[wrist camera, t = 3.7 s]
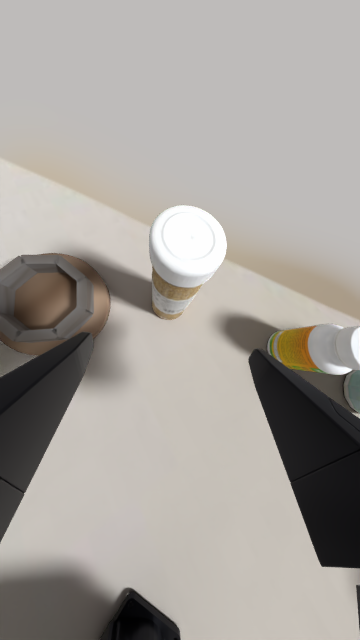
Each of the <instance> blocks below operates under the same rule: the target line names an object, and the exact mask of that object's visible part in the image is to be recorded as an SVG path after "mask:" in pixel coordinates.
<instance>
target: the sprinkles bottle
mask: <svg viewBox="0 0 360 640" xmlns="http://www.w3.org/2000/svg"><path fill="white" fill-rule="evenodd" d="M226 246H227V245H226V238H225V233H224V231H223V229H222V227H221V226H220V224H219V223H218V222H217V221H216V220H215V218H214V217H213V216H211V215H210V214H209V213H207V212H206V211H204V210H202V209H199V208H197V207H193V206H185V205H180V206H174V207H171V208H169V209H166V210H165V211H163V212H162V213H160V214H159V215H158V216H157V218H156V219H155V220H154V222H153V224H152V226H151V229H150V234H149V253H150V259H151V263H152V268H153V271H152V299H153V300H152V307H153V310H154V312H155V313H156V314H157V315H158V316H159V317H160V318H162V319H166V320H172V319H175V318H177V317H179V316H180V315H181V314H182V313H183V311H184V309H185V308H186V307H187V306H188V305H189V303H190V302H191V301H192V299H193V298H194V297H195V296H196V294H197V293H198V290H199V289H200V287H201V286H202V284H203V283H205V282H206V281H208V280H209V279H210V278H211V277H212V275H213V274H214V273H215V271H216V270H217V269H218V267H219V266H220V264H221V263H222V261H223V259H224V257H225V253H226Z"/></svg>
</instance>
